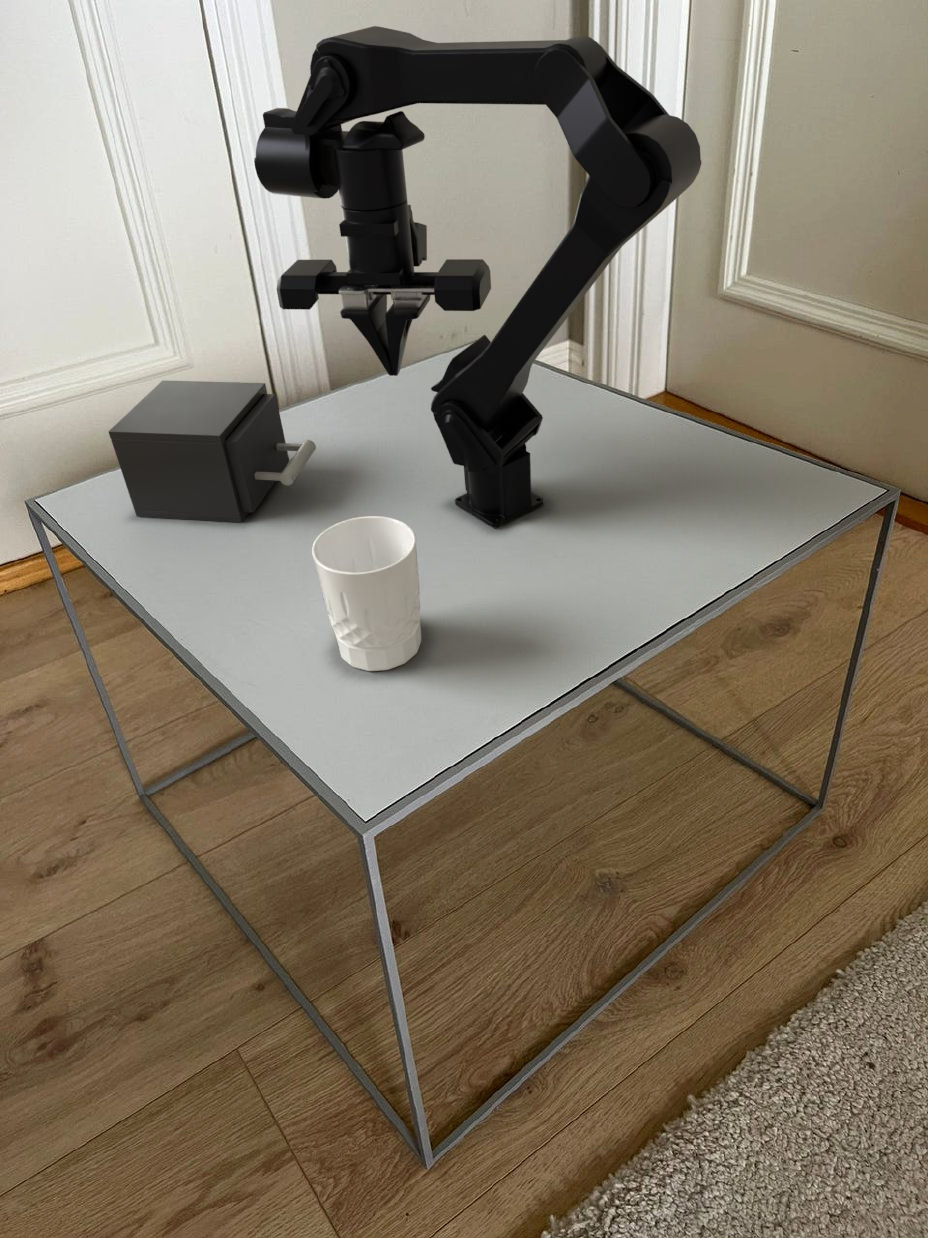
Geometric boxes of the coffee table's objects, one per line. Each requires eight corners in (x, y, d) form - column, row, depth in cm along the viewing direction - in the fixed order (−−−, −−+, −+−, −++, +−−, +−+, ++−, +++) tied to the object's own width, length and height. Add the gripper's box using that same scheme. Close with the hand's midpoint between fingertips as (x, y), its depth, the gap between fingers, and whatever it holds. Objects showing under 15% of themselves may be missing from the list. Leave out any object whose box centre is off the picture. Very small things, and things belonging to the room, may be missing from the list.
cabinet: (282, 465, 103) (265, 382, 97) (241, 522, 94) (219, 435, 88) (185, 461, 105) (162, 380, 99) (136, 516, 96) (108, 431, 90)
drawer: (325, 462, 101) (313, 394, 96) (292, 514, 93) (277, 443, 88) (200, 457, 104) (182, 391, 99) (157, 507, 96) (135, 437, 91)
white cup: (415, 681, 74) (401, 576, 67) (319, 673, 75) (297, 570, 69) (437, 618, 80) (426, 518, 73) (348, 612, 81) (330, 513, 75)
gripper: (497, 175, 85) (504, 342, 95) (303, 179, 89) (328, 339, 99) (473, 210, 77) (483, 390, 86) (259, 213, 80) (292, 385, 90)
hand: (394, 373), depth 91 cm, fingers closed
